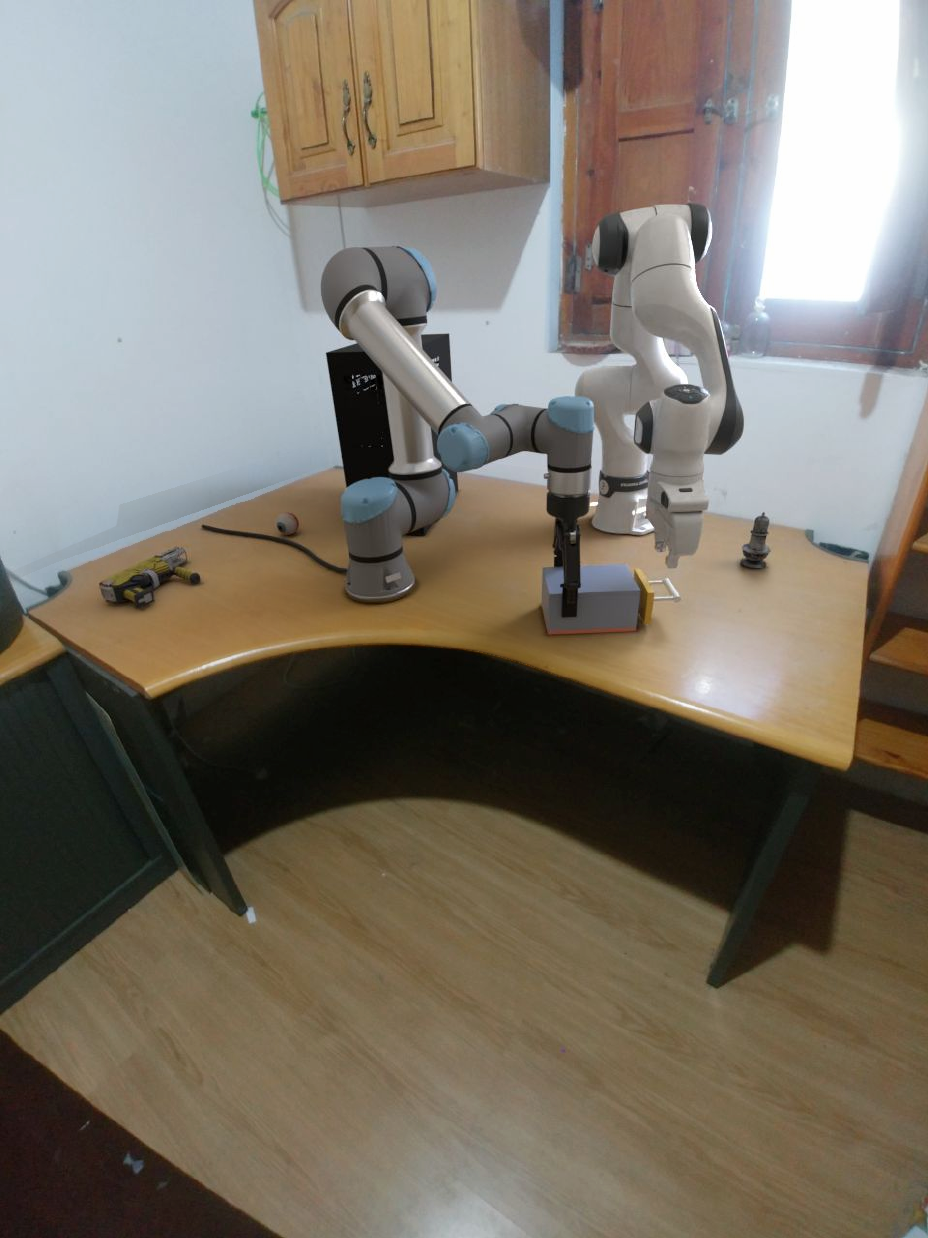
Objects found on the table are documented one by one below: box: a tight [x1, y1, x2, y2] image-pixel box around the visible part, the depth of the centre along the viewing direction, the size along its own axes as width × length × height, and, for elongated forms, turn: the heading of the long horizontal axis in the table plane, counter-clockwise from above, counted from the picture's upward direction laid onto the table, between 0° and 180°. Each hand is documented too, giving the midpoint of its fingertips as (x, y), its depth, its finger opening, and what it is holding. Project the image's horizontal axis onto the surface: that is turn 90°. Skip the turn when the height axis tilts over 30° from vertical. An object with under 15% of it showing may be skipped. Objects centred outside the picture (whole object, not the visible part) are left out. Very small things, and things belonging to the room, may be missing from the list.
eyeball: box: [275, 511, 300, 536], centre depth 163 cm, size 6×6×6 cm
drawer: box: [633, 568, 682, 626], centre depth 116 cm, size 21×10×7 cm, turn 90°
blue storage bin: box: [541, 563, 640, 636], centre depth 116 cm, size 16×11×9 cm
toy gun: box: [98, 546, 201, 609], centre depth 140 cm, size 5×24×15 cm
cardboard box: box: [325, 333, 459, 536], centre depth 166 cm, size 38×20×45 cm, turn 167°
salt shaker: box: [739, 511, 772, 569], centre depth 132 cm, size 6×6×12 cm
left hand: (564, 600), depth 116 cm, fingers closed on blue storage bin, 11 cm apart
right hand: (665, 558), depth 112 cm, fingers open, 6 cm apart
